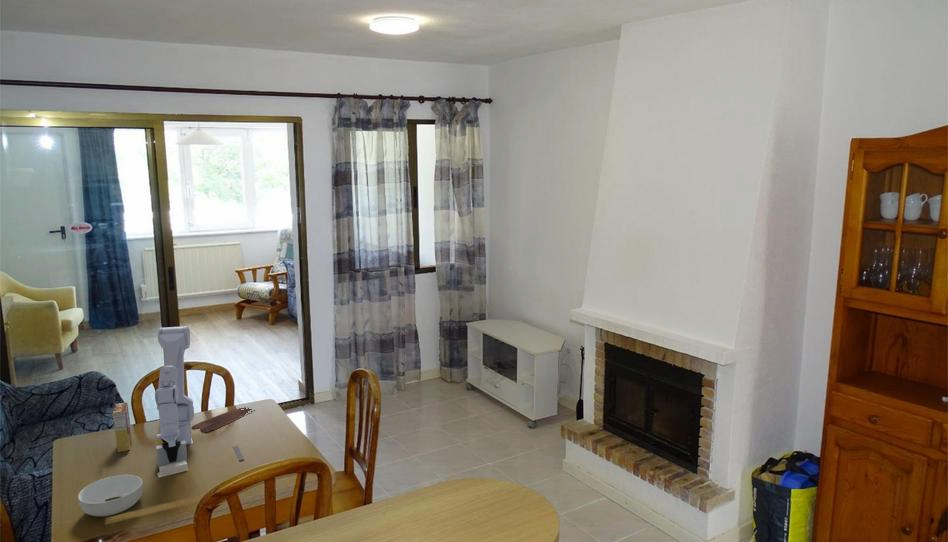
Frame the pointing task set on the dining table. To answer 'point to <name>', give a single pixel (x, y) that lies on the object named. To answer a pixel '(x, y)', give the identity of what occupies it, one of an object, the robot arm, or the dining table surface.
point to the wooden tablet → (220, 420)
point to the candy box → (122, 427)
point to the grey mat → (238, 453)
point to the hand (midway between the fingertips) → (172, 458)
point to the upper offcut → (173, 468)
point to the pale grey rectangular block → (163, 457)
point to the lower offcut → (169, 474)
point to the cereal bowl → (110, 495)
